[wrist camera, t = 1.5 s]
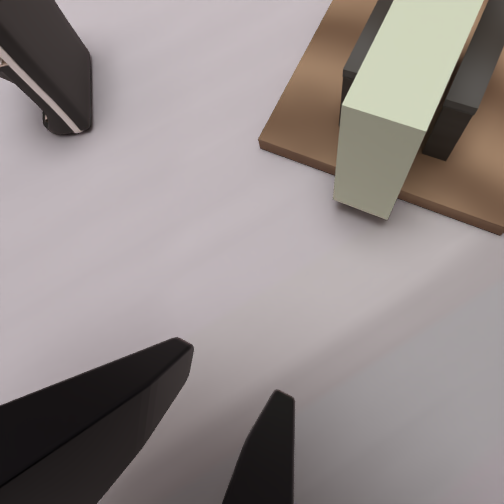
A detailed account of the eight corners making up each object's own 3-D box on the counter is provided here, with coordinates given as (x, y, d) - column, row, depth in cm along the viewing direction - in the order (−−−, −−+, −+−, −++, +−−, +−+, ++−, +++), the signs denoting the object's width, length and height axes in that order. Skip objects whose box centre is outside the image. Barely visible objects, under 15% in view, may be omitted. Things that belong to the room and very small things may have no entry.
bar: (387, 220, 22) (426, 131, 14) (332, 199, 22) (341, 104, 15) (459, 54, 24) (527, -99, 16) (408, 40, 25) (449, -112, 17)
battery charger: (42, 62, 30) (-111, -118, 19) (92, 51, 30) (-35, -140, 19) (39, 146, 28) (-135, -5, 17) (94, 135, 27) (-50, -27, 17)
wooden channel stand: (500, 235, 22) (558, 188, 17) (260, 148, 25) (246, 87, 20) (585, 4, 25) (655, -95, 20) (362, -44, 29) (372, -139, 23)
